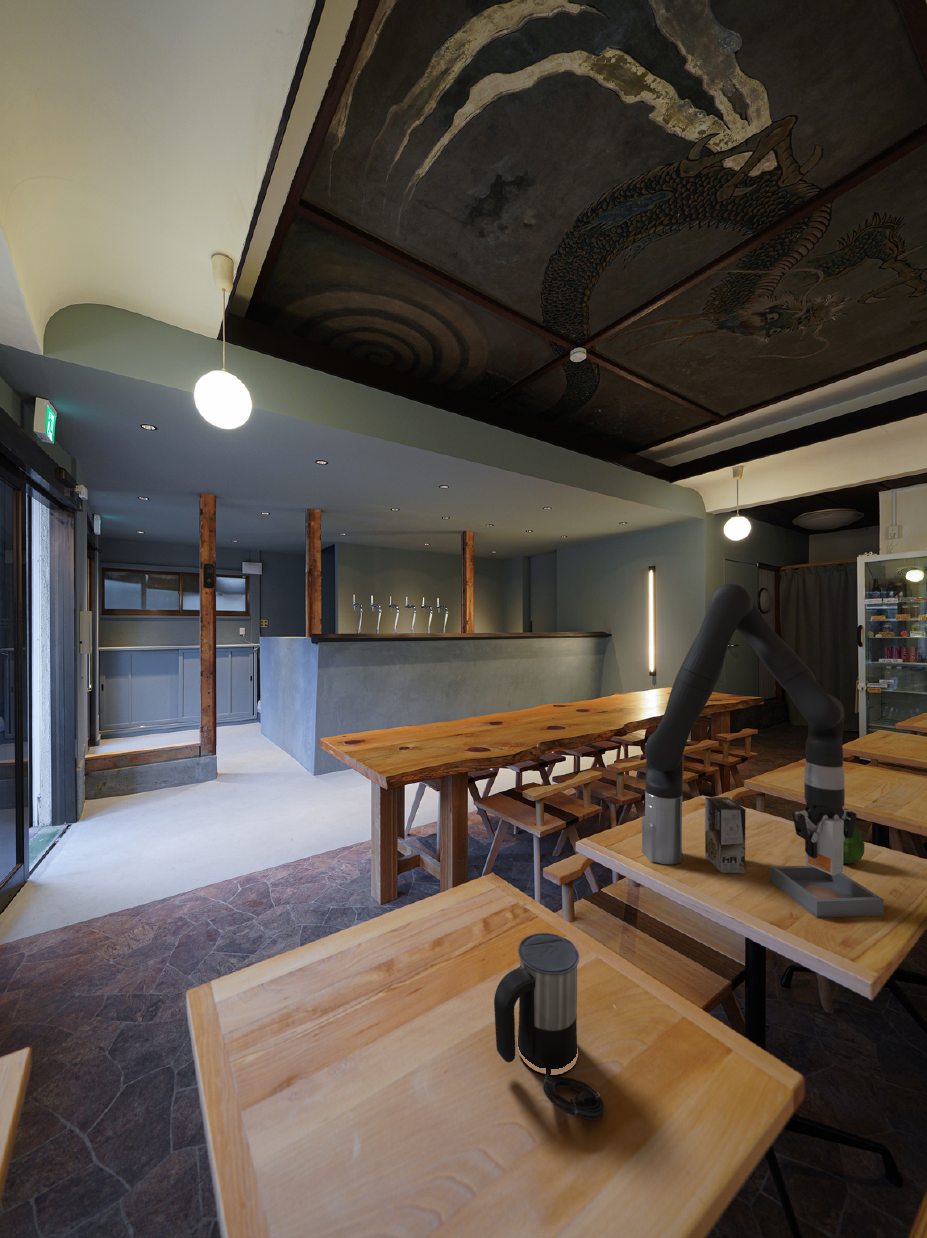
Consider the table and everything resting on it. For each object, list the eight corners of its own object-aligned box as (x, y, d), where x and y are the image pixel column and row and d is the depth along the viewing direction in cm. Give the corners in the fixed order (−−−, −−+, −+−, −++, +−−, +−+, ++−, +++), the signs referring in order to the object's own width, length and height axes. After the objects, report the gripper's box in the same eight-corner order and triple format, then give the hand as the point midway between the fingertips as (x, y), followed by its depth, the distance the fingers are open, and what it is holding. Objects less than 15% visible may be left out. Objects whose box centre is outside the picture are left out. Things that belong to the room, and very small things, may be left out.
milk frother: (538, 1015, 83) (538, 924, 82) (633, 1071, 72) (633, 968, 72) (484, 1076, 72) (484, 972, 71) (587, 1152, 61) (587, 1031, 61)
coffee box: (746, 873, 127) (746, 809, 127) (720, 873, 127) (720, 809, 127) (728, 856, 136) (728, 796, 136) (704, 856, 136) (704, 796, 136)
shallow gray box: (816, 918, 109) (817, 901, 109) (770, 881, 124) (770, 866, 124) (883, 915, 110) (883, 899, 109) (829, 879, 125) (829, 864, 124)
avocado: (821, 861, 133) (822, 815, 133) (832, 852, 138) (832, 808, 138) (859, 873, 127) (859, 826, 127) (868, 864, 132) (869, 818, 132)
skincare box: (804, 864, 118) (804, 813, 118) (816, 860, 120) (816, 810, 120) (833, 876, 113) (833, 823, 113) (844, 872, 115) (844, 819, 115)
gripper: (806, 789, 112) (806, 865, 112) (867, 787, 113) (867, 863, 113) (782, 778, 120) (782, 850, 120) (840, 776, 121) (840, 847, 121)
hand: (824, 856), depth 117 cm, fingers closed on skincare box, 5 cm apart
